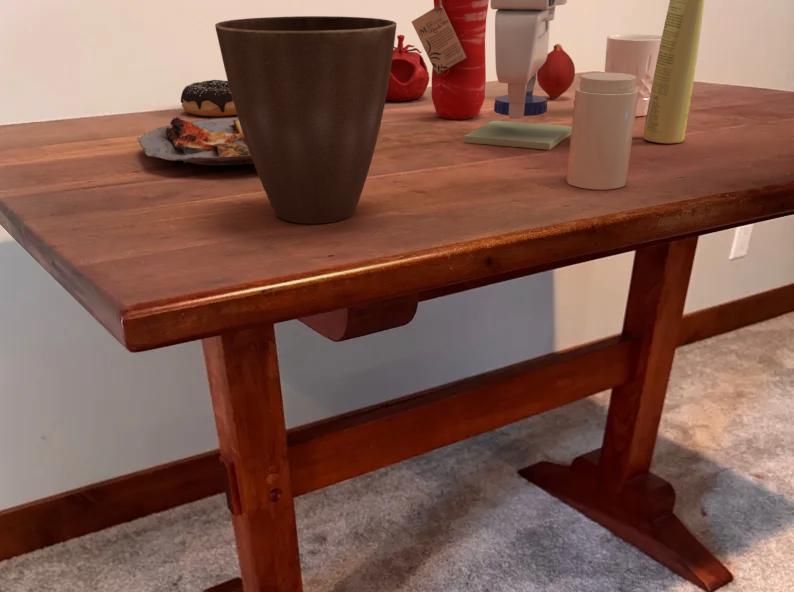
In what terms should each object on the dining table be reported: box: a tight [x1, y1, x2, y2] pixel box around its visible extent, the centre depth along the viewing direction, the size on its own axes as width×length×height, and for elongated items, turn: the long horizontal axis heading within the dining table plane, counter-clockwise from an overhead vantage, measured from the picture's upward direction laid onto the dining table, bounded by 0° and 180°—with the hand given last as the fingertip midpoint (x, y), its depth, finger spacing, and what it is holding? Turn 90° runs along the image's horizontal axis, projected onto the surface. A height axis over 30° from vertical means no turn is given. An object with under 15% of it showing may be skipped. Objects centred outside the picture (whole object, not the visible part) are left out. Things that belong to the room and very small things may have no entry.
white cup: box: [604, 33, 662, 118], centre depth 113 cm, size 8×8×10 cm
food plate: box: [136, 116, 254, 166], centre depth 95 cm, size 25×23×4 cm
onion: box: [536, 43, 576, 100], centre depth 124 cm, size 6×6×8 cm
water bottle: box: [411, 0, 490, 120], centre depth 107 cm, size 12×8×25 cm, turn 135°
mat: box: [463, 120, 572, 151], centre depth 101 cm, size 11×11×1 cm
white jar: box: [565, 71, 639, 191], centre depth 80 cm, size 6×6×10 cm
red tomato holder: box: [385, 34, 430, 102], centre depth 126 cm, size 10×10×9 cm
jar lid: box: [493, 94, 548, 117], centre depth 100 cm, size 6×6×2 cm
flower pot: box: [214, 15, 398, 225], centre depth 70 cm, size 15×15×16 cm
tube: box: [642, 0, 705, 144], centre depth 94 cm, size 6×5×20 cm
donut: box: [180, 79, 237, 118], centre depth 119 cm, size 11×12×4 cm
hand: (520, 112), depth 100 cm, fingers closed on jar lid, 6 cm apart
